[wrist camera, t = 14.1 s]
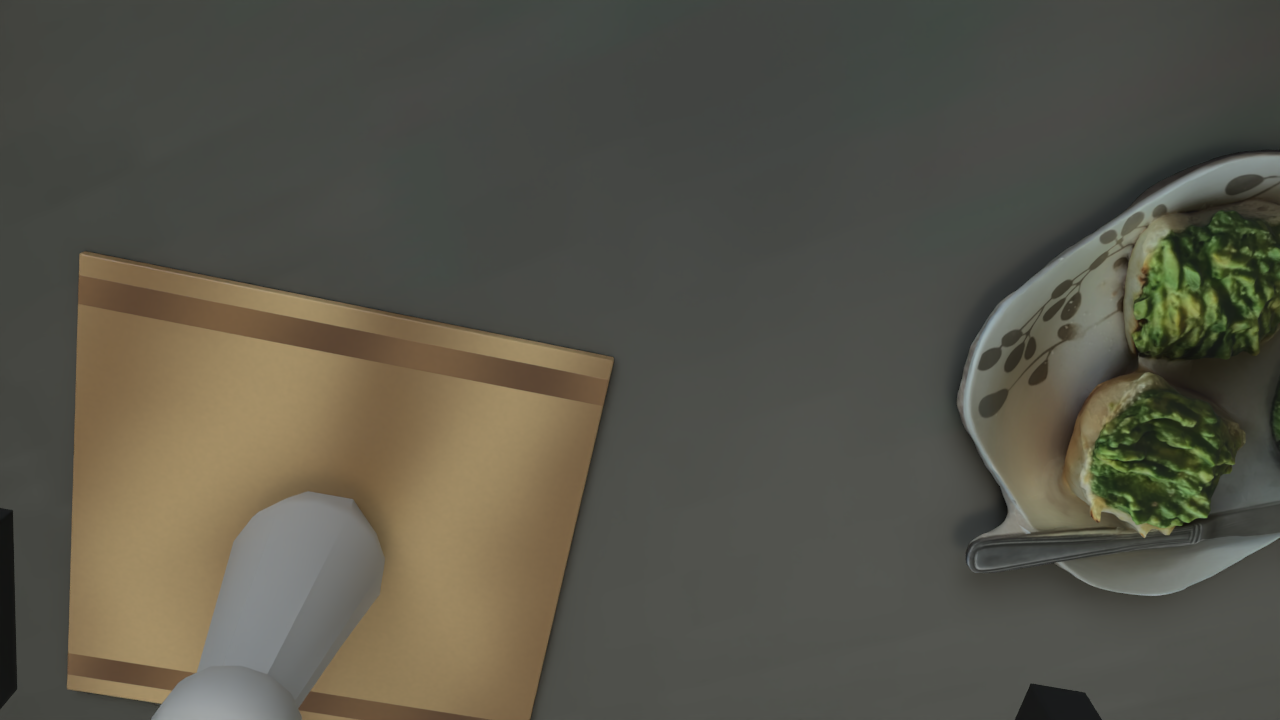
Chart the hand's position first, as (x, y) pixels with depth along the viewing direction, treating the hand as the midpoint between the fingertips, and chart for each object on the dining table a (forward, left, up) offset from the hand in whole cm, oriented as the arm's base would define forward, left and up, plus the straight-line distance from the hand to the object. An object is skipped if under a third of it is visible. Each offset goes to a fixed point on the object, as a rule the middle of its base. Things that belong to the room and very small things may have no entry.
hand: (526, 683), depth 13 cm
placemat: (+8, +15, -26) cm, 31 cm away
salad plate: (-25, +1, -26) cm, 36 cm away
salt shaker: (+8, +15, -26) cm, 31 cm away
